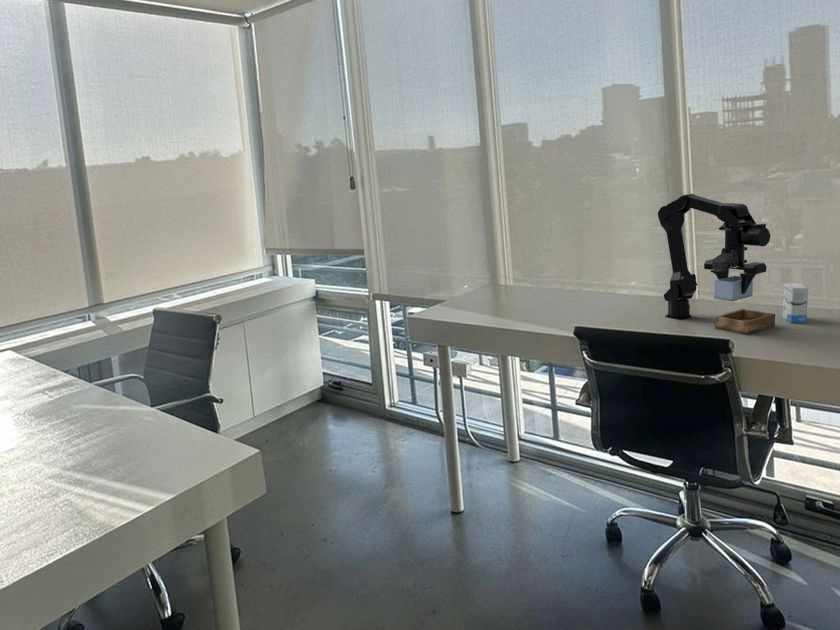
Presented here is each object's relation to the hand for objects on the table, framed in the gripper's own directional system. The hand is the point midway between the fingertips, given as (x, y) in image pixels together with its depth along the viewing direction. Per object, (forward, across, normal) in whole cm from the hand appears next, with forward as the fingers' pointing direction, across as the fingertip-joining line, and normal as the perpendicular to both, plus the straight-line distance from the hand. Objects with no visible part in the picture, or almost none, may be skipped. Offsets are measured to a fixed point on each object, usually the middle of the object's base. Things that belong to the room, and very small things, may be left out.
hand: (733, 292), depth 218 cm
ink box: (+12, +7, +22) cm, 26 cm away
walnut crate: (+12, +2, +3) cm, 12 cm away
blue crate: (+2, 0, 0) cm, 2 cm away
